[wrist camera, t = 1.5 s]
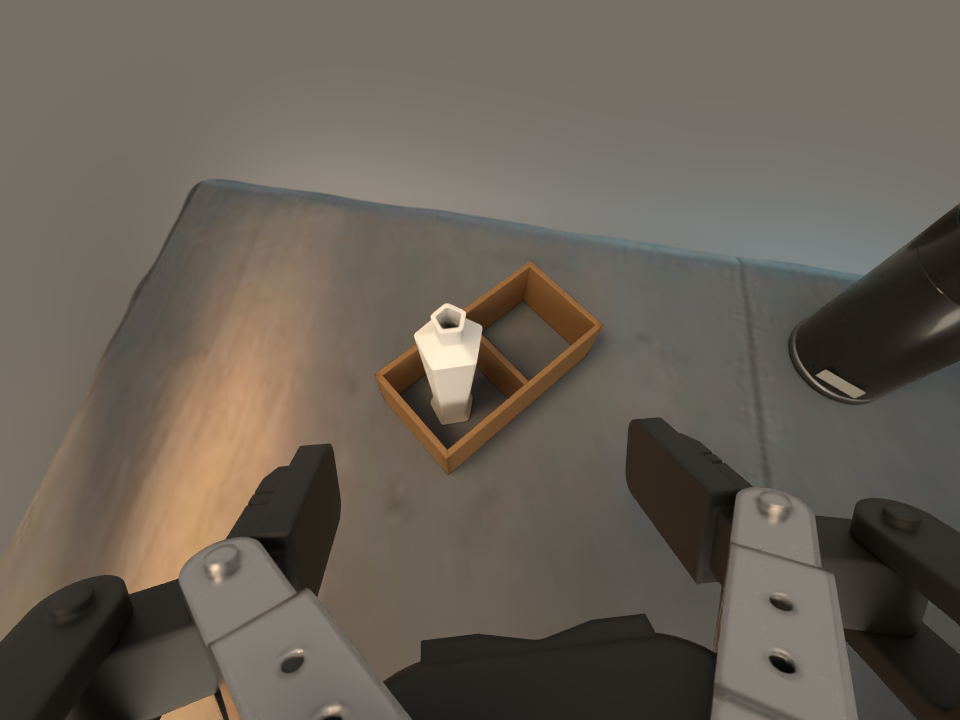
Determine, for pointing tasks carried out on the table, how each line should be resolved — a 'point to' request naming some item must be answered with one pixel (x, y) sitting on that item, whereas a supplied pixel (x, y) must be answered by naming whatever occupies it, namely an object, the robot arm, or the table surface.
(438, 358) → the perfume bottle
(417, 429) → the divided tray
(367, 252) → the table surface
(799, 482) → the table surface
